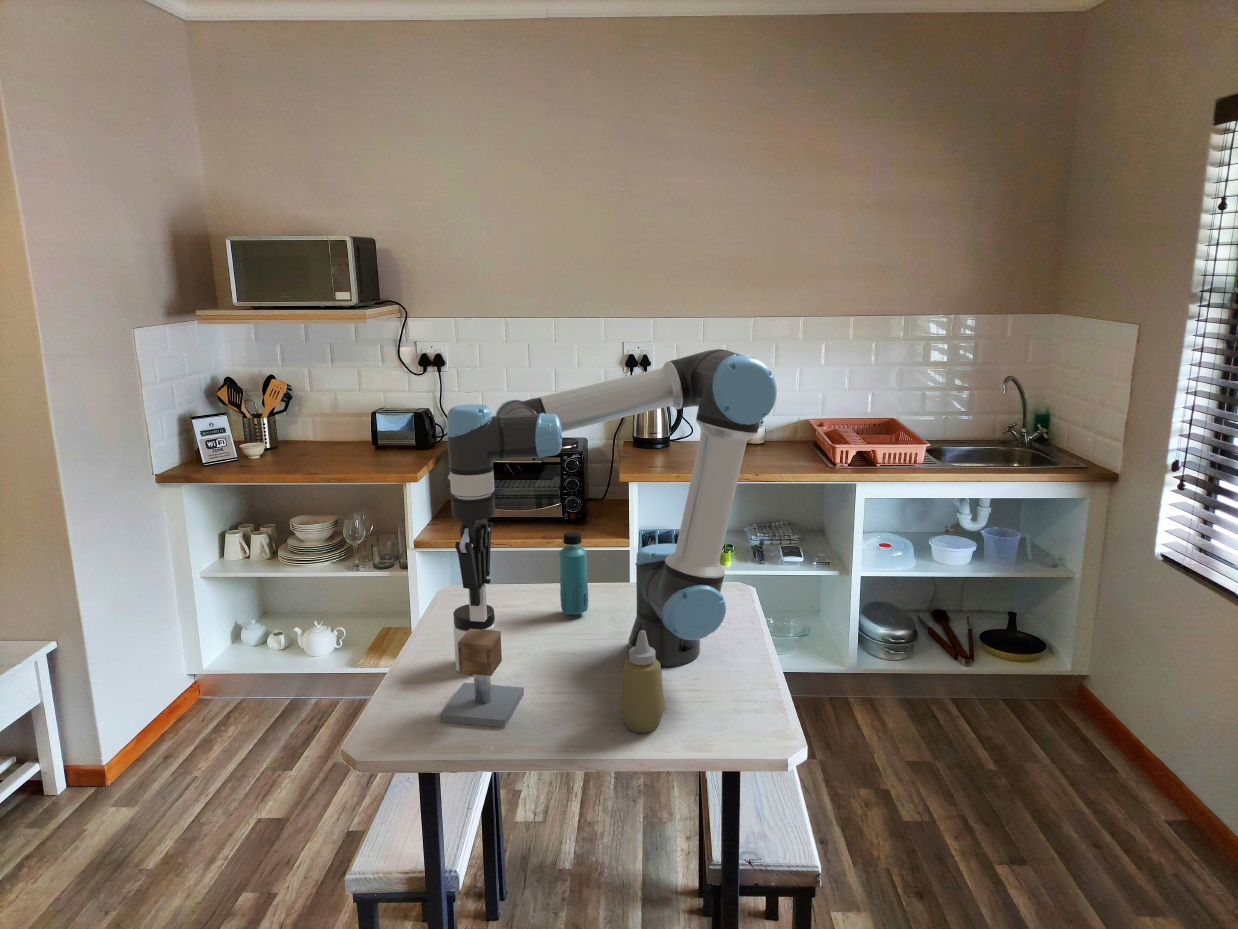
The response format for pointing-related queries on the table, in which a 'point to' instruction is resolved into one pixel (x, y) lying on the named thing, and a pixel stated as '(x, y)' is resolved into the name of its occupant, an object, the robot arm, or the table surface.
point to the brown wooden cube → (479, 652)
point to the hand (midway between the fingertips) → (478, 619)
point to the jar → (469, 625)
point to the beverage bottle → (573, 575)
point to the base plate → (482, 706)
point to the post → (482, 689)
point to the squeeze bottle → (642, 688)
